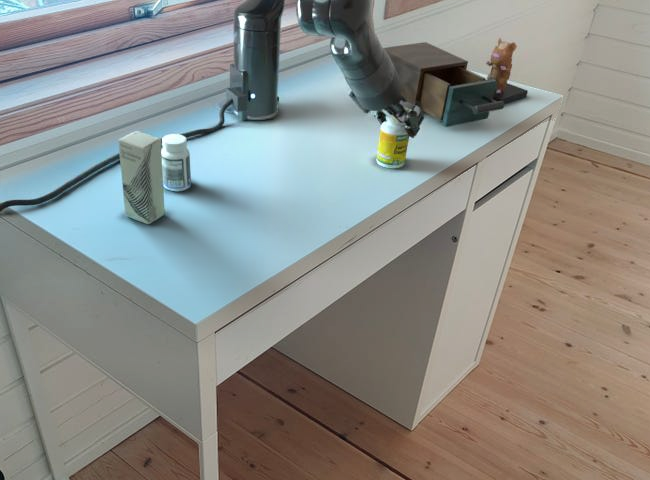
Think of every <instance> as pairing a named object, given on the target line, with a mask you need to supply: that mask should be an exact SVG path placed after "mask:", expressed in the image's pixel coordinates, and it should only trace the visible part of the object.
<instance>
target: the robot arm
mask: <svg viewBox="0 0 650 480" xmlns="http://www.w3.org/2000/svg"><path fill="white" fill-rule="evenodd" d="M285 4H286V0H244V1H243V2H241V3H239V4H238V5H236V7H235V8H234V10H233V63H230V64H229V87H228V88H226V93H225V94H226V102H225V103H224V104H223V105H222V106H221V108H220V110H219V114H218V115H219V121H218V123H217V124H216V125H215V126H213V127H209V128H199V129H194V130H191V131H188V132H187V131H186V132H183V133H179V135H183V136H185V137H186V139H187V138H191V137H195V136H199V135H207V134H210V133H213V132H216V131H219V130H220V129H221V128H222V127H223V126H224V124H225V111H226V110H227V109H228V108H229V111H230V112H231V113H233V114H234V115H235V116H236V117H237V118H239V119H240V120H242V121H247V120H248V121H265V120H270V119H272V118H275V117H276V116H277V115H278V114H279V108H278V105H279V104H280V96H279V80H280V79H279V77H280V55H281V53H280V52H281V30H282V26H281V25H282V17H283V14H284V11H285ZM295 13H296V14H295V15H296V20H297V23H298V26H299V27H300V29H301V31H302V32H303V33H305V34H306V35H309V36H313V37H326V38H330V42H329V49H330V52H331V55H332V58H333V60H334V61H335V63H336V65H337V66H338V68H339V69H340V71H341V73H342V75H343V77H344V80H345V83H346V84H347V85H348V87H349V89H350V93H349V94H348V96H349V97H350V99H352V100H353V102H355V104H356V105H357V106H358V107H359V109H360V110H361V111H362V112H363V113H364V114H367V115H368V114H369V113H370V114H371V116H372V118H375V119H377V122H378V123H379V124H380V126H381V125H382V123H383V122H384V121H386V115H389V116H390V117H391V118H392V119H393V120H394V121H395V122H396V123H401V124H402V125H403V126H404V128H405V130H406V131H407V133H408V135H409V138H412V139H415V137H416V136H418V134H419V131H420V130H421V128H420V126H421V124H422V123H423V121H424V119H425V113H424V112H423V106H422V103H420V102H418V101H416V102H415V104H410V103H408V102H407V100H406V98H405V97H404V96H403V95H402V94H401V80H400V77H399V75H398V73H397V71H396V69H395V67H394V65H393V63H392V61H391V59H390V57H389V55H388V54H387V52H386V51H385V49H384V48H385V47H383V46H382V44H381V41H380V39H379V37H378V36H377V33H376V29H375V24H374V16H373V1H372V0H296V7H295ZM397 115H398V116H397ZM406 116H407V117H408V119H407V121H406V120H405V117H406ZM160 139H161V145H163V144H162V139H163V137H161V138H160ZM118 160H120V152H118V153H116V154H114V155H111V156H109V157H108V158H106V159H104V160H102V161H100V162H98V163H96V164H95V165H93V166H91V167H90V168H88V169H86V170H85V171H83V172H82V173H80V174H78V175H77V176H75V177H74V178H71V179H70V180H68V181H67V182H65V183H64V184H62V185H61V186H59V187H57V188H55V189H54V190H53V191H50V192H49V193H47V194H45V195H42V196H40V197H37V198H31V199H9V200H6V201H3V202H1V203H0V213H1V212H2V211H4V210H5V209H7V208H9V207H21V206H24V207H25V206H26V207H27V206H37V205H41V204H44V203H47V202H49V201H51V200H53V199H54V198H56V197H58V196H59V195H61V194H62V193H64V192H66V191H67V190H68V189H70V188H72V187H73V186H76V185H77V184H78V183H80V182H81V181H83V180H85V179H86V178H88V177H89V176H91V175H93V174H94V173H96V172H98V171H99V170H101V169H103V168H105V167H107V166H109V165H110V164H112V163H114V162H116V161H118ZM31 396H32V394H30V395H29V397H31Z"/></svg>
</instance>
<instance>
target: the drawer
mask: <svg viewBox="0 0 650 480" xmlns="http://www.w3.org/2000/svg"><path fill="white" fill-rule="evenodd" d="M496 83H497V81H496V80H494V79H491V80H487V77H486V78H485V77H483V76H482V75H479V74H477V73H475V72H473V71H471V70H469V69H464V68H462V67H460V66H458V67H452V68H445V69H439V70H433V71H426V72H423V76H422V82H421V88H420V93H419V99H418V102H420V103H422V106H423V111H424V112H425V113H426V114H428V115H430V116H432V117H433V118H435V119H437V120H439V121H442V123H441V126H442V127H445V128H447V127H452V126H453V127H454V126H458V125H462V124H469V123H473V122H478V121H483V120H487V119H489V115H490V112H494V111H500V110H503V109H504V108H505V105H504V102H503V101H498V102H497V101H495V100H493V95H494V91H495V87H496Z"/></svg>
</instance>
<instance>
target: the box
mask: <svg viewBox="0 0 650 480" xmlns="http://www.w3.org/2000/svg"><path fill="white" fill-rule="evenodd" d="M118 151H119V152H118V153H120V159H119V161H120V173H121V174H120V175H121V182H122V183H121V184H122V195H123V205H124V215H125V216H126V217H128V218H130V219H133V220H135V221H138V222H140V223H144V224H146V225H150V224H152V223H154V222H155V221H157V220H158V219H160V218H162V217H163V216H164V215H165V214H166V213H165V196H164V194H165V193H164V183H163V171H162V144H161V138H160V137H156V136H154V135H151V134H148V133H144V132H142V131H138V130H135V131H132V132H131V133H130V132H129V134H127V135H124V136H123V137H121V138H118Z"/></svg>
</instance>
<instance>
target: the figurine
mask: <svg viewBox="0 0 650 480" xmlns="http://www.w3.org/2000/svg"><path fill="white" fill-rule="evenodd" d="M516 50H517V44H516V42H514V41H512V42H508V41H502V38H501V37H499V39H498V41H497V45H495V46H494V48H493V50H492V51H491V55H490V60H487V61H486V63H485V65H487V66H489V67H491V69H490V72H489V73H488V74H487V77H486V80H491V79H494V80H496V81H497V83H496V87H495V91H494V95H493V100H495V101H497V102H498V101H503V102H504V106H505V105H508V104H510V103H513V102H516V101H519V100H522V99H525V98H527V95H528V92H529V90H527V89H525V88H522V87H518V86H516V85H513V84H511V83H508V80H510V77H511V71H512V69H513V63H512V62H513V54H514V52H515V51H516Z"/></svg>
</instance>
